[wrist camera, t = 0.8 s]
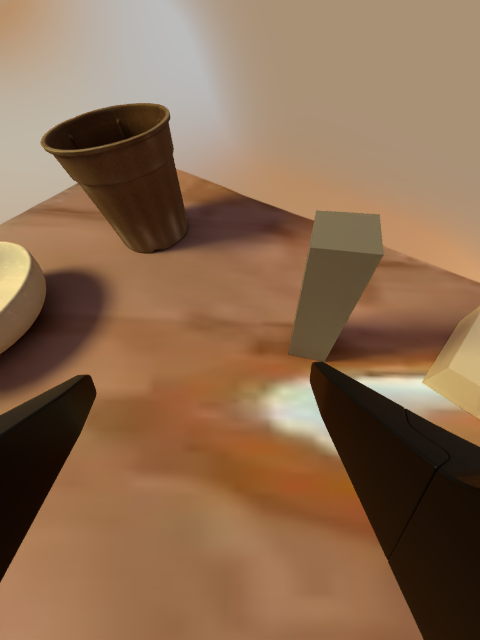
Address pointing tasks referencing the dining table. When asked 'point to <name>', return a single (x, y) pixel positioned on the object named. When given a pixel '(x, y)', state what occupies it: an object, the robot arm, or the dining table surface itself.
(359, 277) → the post
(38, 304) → the serving bowl
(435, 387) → the collar
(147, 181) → the plant pot
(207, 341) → the dining table surface
